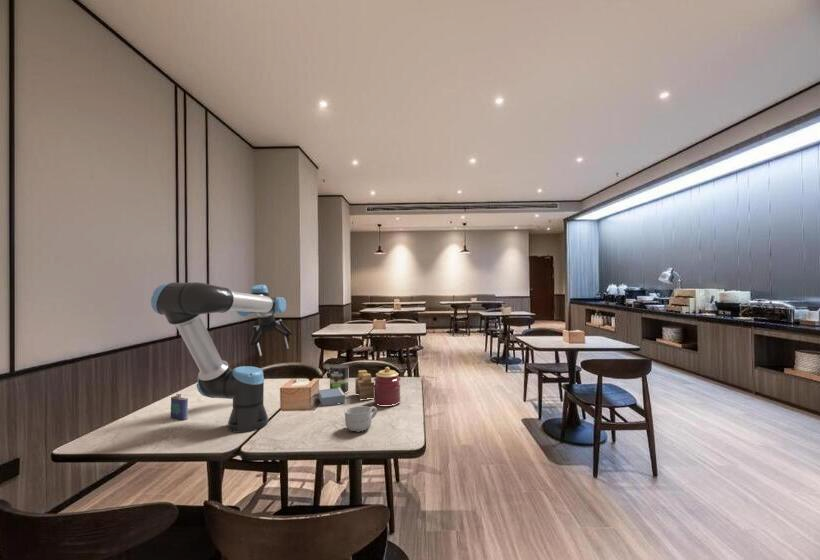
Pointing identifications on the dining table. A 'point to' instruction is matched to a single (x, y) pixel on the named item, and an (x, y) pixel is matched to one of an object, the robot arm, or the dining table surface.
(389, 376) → the canister
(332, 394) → the dock
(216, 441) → the dining table surface
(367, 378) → the crate
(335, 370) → the coffee can
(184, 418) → the flask
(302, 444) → the dining table surface
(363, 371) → the crate
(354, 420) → the teacup
